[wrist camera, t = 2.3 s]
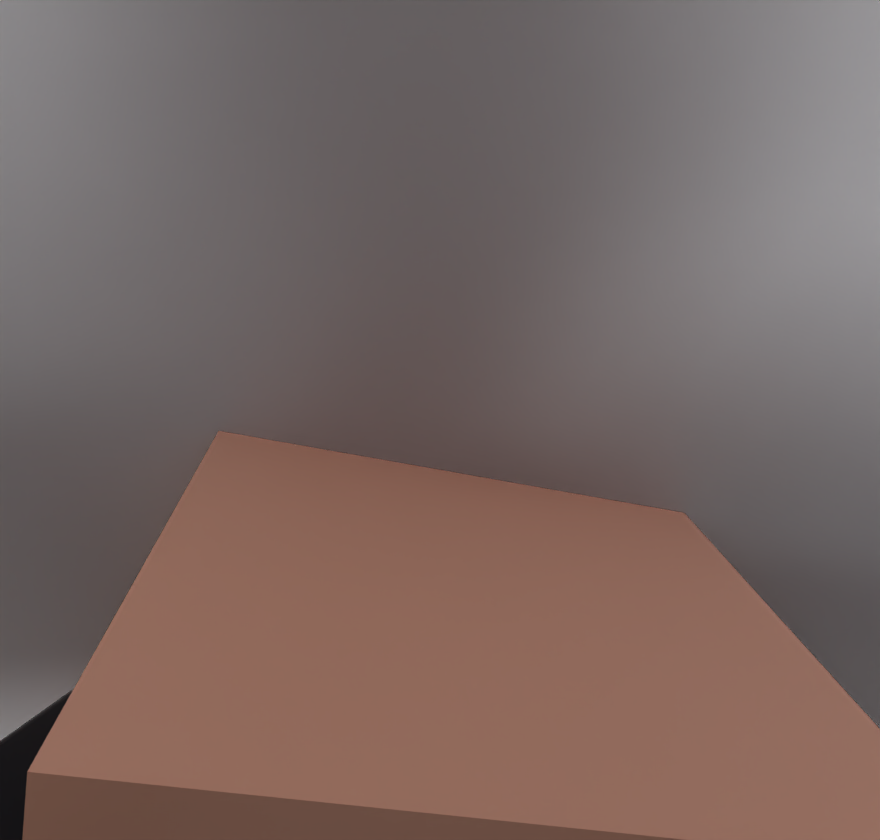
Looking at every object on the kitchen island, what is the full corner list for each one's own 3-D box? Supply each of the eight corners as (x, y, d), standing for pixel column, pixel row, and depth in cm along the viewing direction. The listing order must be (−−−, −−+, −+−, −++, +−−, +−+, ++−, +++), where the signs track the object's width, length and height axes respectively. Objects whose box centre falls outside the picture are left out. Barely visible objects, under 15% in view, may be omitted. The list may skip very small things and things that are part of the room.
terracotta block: (680, 508, 8) (1011, 873, 4) (558, 850, 10) (706, 1382, 6) (221, 426, 7) (26, 770, 3) (163, 813, 9) (-19, 1395, 5)
